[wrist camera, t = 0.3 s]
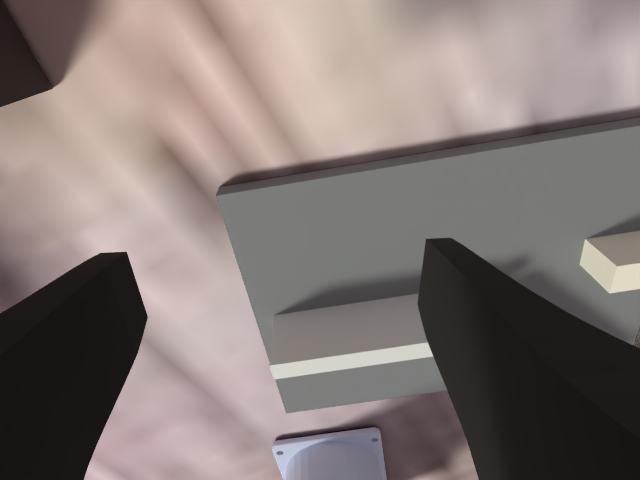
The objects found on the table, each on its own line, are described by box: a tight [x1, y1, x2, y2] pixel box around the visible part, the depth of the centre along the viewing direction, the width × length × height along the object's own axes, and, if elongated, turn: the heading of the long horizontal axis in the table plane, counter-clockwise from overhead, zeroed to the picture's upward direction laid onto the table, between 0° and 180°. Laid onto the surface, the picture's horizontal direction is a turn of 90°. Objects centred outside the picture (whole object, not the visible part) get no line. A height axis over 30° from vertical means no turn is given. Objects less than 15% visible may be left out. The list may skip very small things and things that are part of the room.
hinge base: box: [216, 117, 640, 413], centre depth 21 cm, size 16×22×4 cm
